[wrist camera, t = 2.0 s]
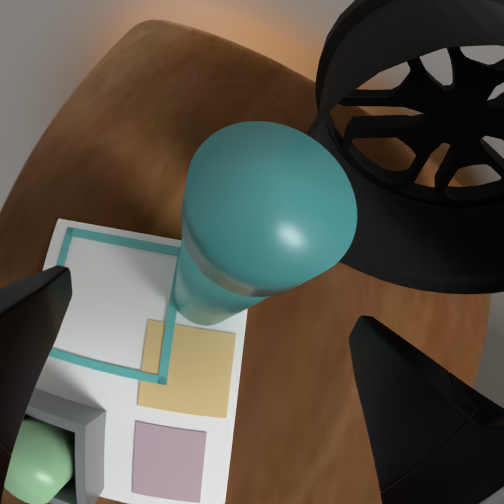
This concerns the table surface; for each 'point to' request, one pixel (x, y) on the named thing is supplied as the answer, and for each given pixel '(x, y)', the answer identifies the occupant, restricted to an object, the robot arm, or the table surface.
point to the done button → (40, 461)
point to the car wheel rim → (419, 141)
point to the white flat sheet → (144, 366)
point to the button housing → (86, 443)
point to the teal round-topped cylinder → (258, 219)
